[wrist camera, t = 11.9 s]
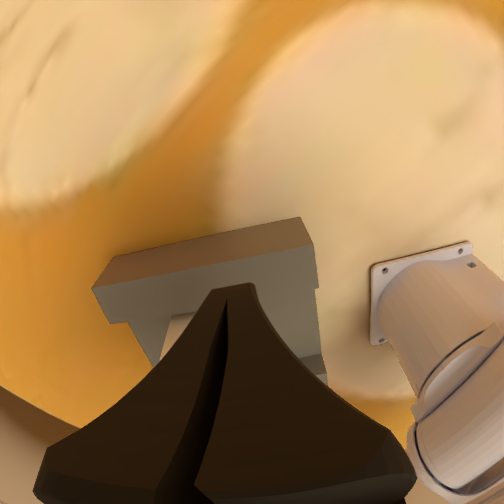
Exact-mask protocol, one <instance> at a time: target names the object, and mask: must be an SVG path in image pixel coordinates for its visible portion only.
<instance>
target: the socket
mask: <svg viewBox="0 0 504 504" xmlns="http://www.w3.org/2000/svg"><path fill="white" fill-rule="evenodd" d="M248 282H251V283H253V284H255V287H256V291H257V295H258V299H259V302H260V304H261V307H262V308H263V310H264V312H265V314H266V316H267V317H268V319H269V321H270V322H271V324H272V325H273V327H274V328H275V330H276V331H277V333H278V334H279V335H280V337H281V338H282V339H283V341H284V342H285V343H286V345H287V346H288V347H289V348H290V349H291V351H292V352H293V353H294V354H295V355H296V356H297V357H298V359H299V360H300V361H301V362H302V363H303V364H304V365H305V366H306V367H307V368H308V369H309V370H310V371H311V372H312V373H313V374H314V375H315V376H316V377H318V378H319V379H320V380H321V381H322V382H323V383H324V384H326V385H327V372H326V369H325V365H324V361H323V358H322V354H321V345H320V335H319V325H318V316H317V307H316V298H315V290H314V289H316V288H319V285H318V277H317V268H316V260H315V253H314V245H313V242H312V240H311V238H310V236H309V234H308V232H307V230H306V228H305V226H304V224H303V222H302V219H301V217H297V218H292V219H287V220H282V221H277V222H272V223H267V224H263V225H258V226H253V227H248V228H243V229H238V230H234V231H229V232H224V233H220V234H215V235H210V236H206V237H201V238H196V239H192V240H187V241H183V242H178V243H174V244H169V245H165V246H161V247H156V248H152V249H147V250H143V251H139V252H134V253H130V254H126V255H121V256H117V257H113V259H112V260H111V261H110V263H109V264H108V266H107V267H106V268H105V270H104V271H103V272H102V274H101V275H100V277H99V278H98V280H97V281H96V282H95V284H94V285H93V287H92V288H91V289H92V291H93V293H94V295H95V297H96V299H97V301H98V302H99V304H100V306H101V308H102V310H103V312H104V314H105V316H106V317H107V319H108V321H109V323H110V324H114V323H121V322H128V323H129V325H130V327H131V329H132V331H133V333H134V334H135V336H136V338H137V340H138V342H139V343H140V345H141V347H142V349H143V351H144V352H145V354H146V356H147V357H148V359H149V361H150V362H151V364H152V366H153V368H154V367H155V366H156V365H157V364H158V363H159V362H160V356H161V353H162V349H163V345H164V342H165V338H166V334H167V331H168V327H169V324H170V320H171V317H172V315H176V314H182V313H188V312H194V311H198V309H199V307H200V306H201V304H202V303H203V301H204V300H205V298H206V297H207V295H208V294H209V293H210V291H211V290H212V289H216V288H222V287H227V286H232V285H238V284H243V283H248ZM327 386H328V385H327Z"/></svg>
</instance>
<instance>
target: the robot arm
mask: <svg viewBox="0 0 504 504" xmlns="http://www.w3.org/2000/svg"><path fill="white" fill-rule="evenodd" d="M459 249H460V251H459ZM458 251H459V252H458ZM383 268H386V269H385V271H382V270H383ZM381 338H382V339H381ZM387 342H390V344H391V346H392V348H393V350H394V352H395V354H396V356H397V358H398V360H399V362H400V364H401V366H402V368H403V370H404V372H405V374H406V376H407V378H408V380H409V382H410V384H411V386H412V388H413V391H414V393H415V395H416V397H417V399H418V400H417V402H416V403H415V404H414V405H413V406H412V407H411V411H412V413H413V415H414V418H415V420H416V421H415V422H414V423H413V424H412V425H411V426H410V428H409V430H408V433H407V453H406V452H405V450H404V449H403V447H402V446H401V444H400V443H399V442H398V440H397V439H396V437H395V436H394V435H393V433H392V432H391V431H390V430H389V429H388V428H386V427H384V426H383V425H381V424H379V423H378V422H376V421H374V420H373V419H371V418H370V417H368V416H367V415H365V414H364V413H362V412H361V411H359V410H358V409H356V408H355V407H353V406H352V405H351V404H349V403H348V402H347V401H345V400H344V399H343V398H341V397H340V396H339V395H337V394H336V393H335V392H334V391H333V390H331V389H330V388H329V387H328V386H327V385H326V384H324V383H323V382H322V381H321V380H320V379H319V378H318V377H316V376H315V375H314V374H313V373H312V372H311V371H310V370H309V369H308V368H307V367H306V366H305V365H304V364H303V363H302V362H301V361H300V360H299V359H298V357H297V356H296V355H295V354H294V353H293V352H292V351H291V349H290V348H289V347H288V346H287V345H286V343H285V342H284V341H283V339H282V338H281V337H280V335H279V334H278V333H277V331H276V330H275V328H274V327H273V325H272V324H271V322H270V321H269V319H268V317H267V316H266V314H265V312H264V310H263V308H262V307H261V304H260V302H259V299H258V295H257V291H256V287H255V284H253V283H251V282H248V283H243V284H238V285H232V286H227V287H222V288H216V289H212V290H211V291H210V293H209V294H208V295H207V297H206V298H205V300H204V301H203V303H202V304H201V306H200V307H199V309H198V311H197V312H196V314H195V315H194V317H193V318H192V320H191V321H190V322H189V324H188V325H187V327H186V328H185V330H184V331H183V333H182V334H181V335H180V337H179V338H178V339H177V340H176V342H175V343H174V344H173V346H172V347H171V348H170V349H169V351H168V352H167V353H166V355H165V356H164V357H163V358H162V359H161V360H160V362H159V363H158V364H157V365H156V366H155V367H154V368H153V369H152V370H151V371H150V372H149V373H148V374H147V375H146V377H145V378H144V379H143V380H142V381H141V382H139V383H138V384H137V385H136V386H135V387H134V388H133V389H132V390H131V391H129V392H128V393H127V394H126V395H125V396H124V397H123V398H122V399H120V400H119V401H118V402H117V403H116V404H115V405H113V406H112V407H111V408H109V409H108V410H107V411H106V412H104V413H103V414H102V415H100V416H99V417H97V418H96V419H95V420H93V421H92V422H90V423H89V424H87V425H86V426H84V427H83V428H81V429H80V430H78V431H76V432H75V433H73V434H71V435H70V436H68V437H66V438H64V439H62V440H61V441H59V442H57V443H55V444H54V445H52V446H50V447H48V448H47V450H46V452H45V455H44V458H43V461H42V464H41V467H40V470H39V473H38V476H37V479H36V482H35V485H34V488H33V493H34V495H35V496H36V497H37V499H39V500H40V501H41V502H43V503H44V504H406V502H405V499H404V497H405V496H406V495H407V494H408V492H409V491H410V490H411V489H412V487H413V486H414V484H415V482H416V480H417V478H418V479H419V481H420V482H421V483H422V484H423V485H424V486H425V487H427V488H428V489H430V490H432V491H433V492H435V493H437V494H439V495H440V496H442V497H443V498H444V499H445V500H447V501H448V502H449V503H450V504H504V282H503V281H502V280H501V279H500V278H499V277H498V276H497V275H496V274H495V273H493V272H492V271H491V270H490V269H489V268H488V267H487V266H486V265H485V264H483V263H482V262H481V261H480V260H479V259H478V258H476V257H475V256H474V255H473V244H472V243H471V242H470V241H468V242H464V243H460V244H456V245H452V246H448V247H445V248H441V249H437V250H433V251H429V252H425V253H421V254H417V255H413V256H408V257H404V258H400V259H396V260H392V261H388V262H383V263H379V264H376V265H374V266H373V267H372V269H371V319H370V343H371V345H372V346H376V345H380V344H383V343H387ZM0 504H6V503H5V502H3V501H1V500H0Z"/></svg>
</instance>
